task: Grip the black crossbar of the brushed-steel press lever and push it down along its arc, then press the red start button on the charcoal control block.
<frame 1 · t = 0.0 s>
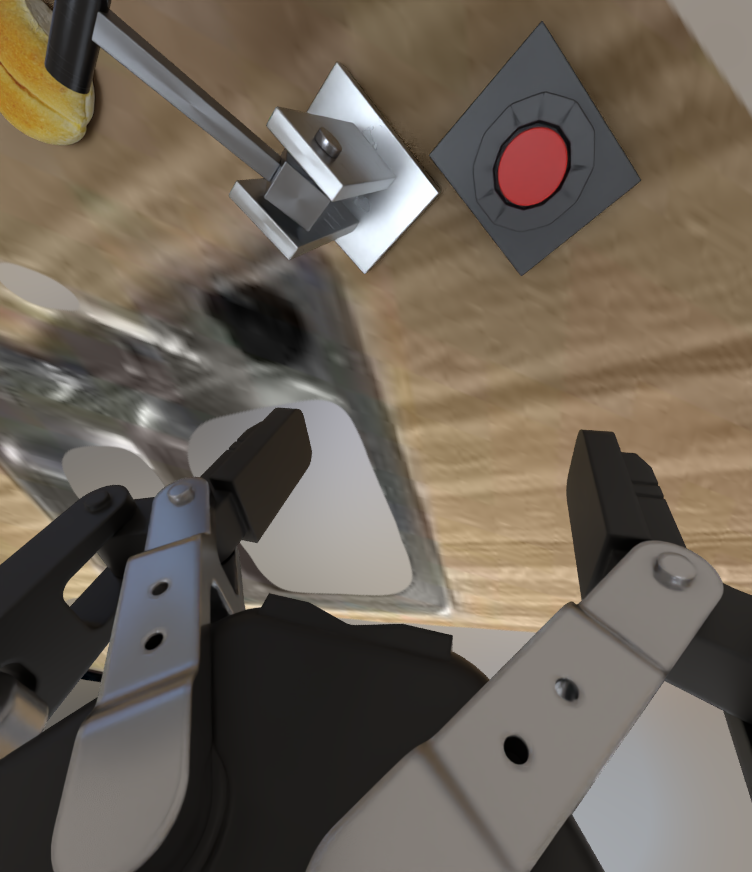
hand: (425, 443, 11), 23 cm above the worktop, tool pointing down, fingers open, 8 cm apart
start button: (531, 168, 22), point 4 cm above the worktop, slide at 0.1 cm
button block: (529, 166, 26), on the worktop
lever bracket: (357, 180, 29), on the worktop
press lever: (213, 118, 18), point 12 cm above the worktop, hinge at 28.0°
bread roll: (53, 76, 31), on the worktop
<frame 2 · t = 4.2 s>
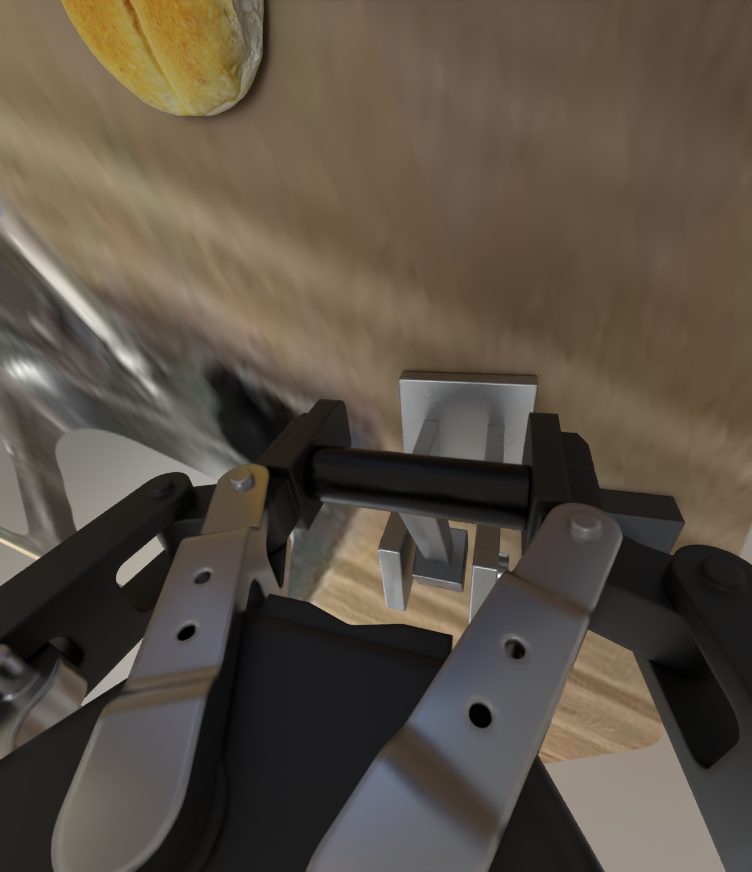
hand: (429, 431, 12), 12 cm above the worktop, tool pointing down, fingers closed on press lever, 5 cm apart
button block: (586, 540, 28), on the worktop
lever bracket: (464, 440, 26), on the worktop
press lever: (432, 534, 15), point 12 cm above the worktop, hinge at 28.0°, touching gripper
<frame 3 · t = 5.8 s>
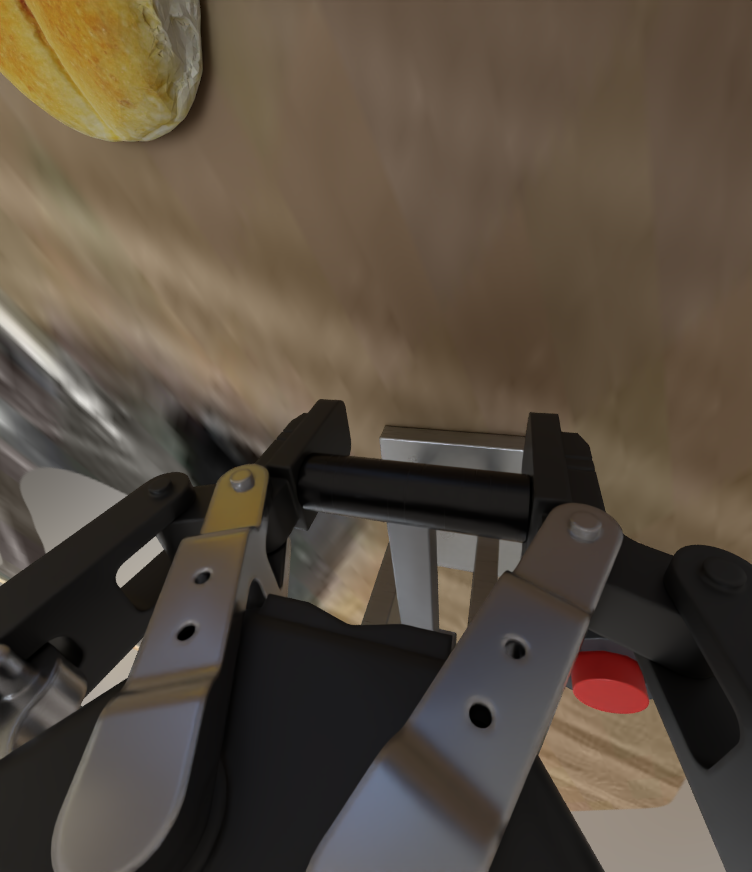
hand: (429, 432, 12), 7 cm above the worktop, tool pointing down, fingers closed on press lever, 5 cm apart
start button: (607, 680, 22), point 4 cm above the worktop, slide at 0.1 cm
button block: (594, 608, 25), on the worktop
lever bracket: (456, 500, 23), on the worktop
press lever: (419, 609, 13), point 10 cm above the worktop, hinge at 1.8°, touching gripper
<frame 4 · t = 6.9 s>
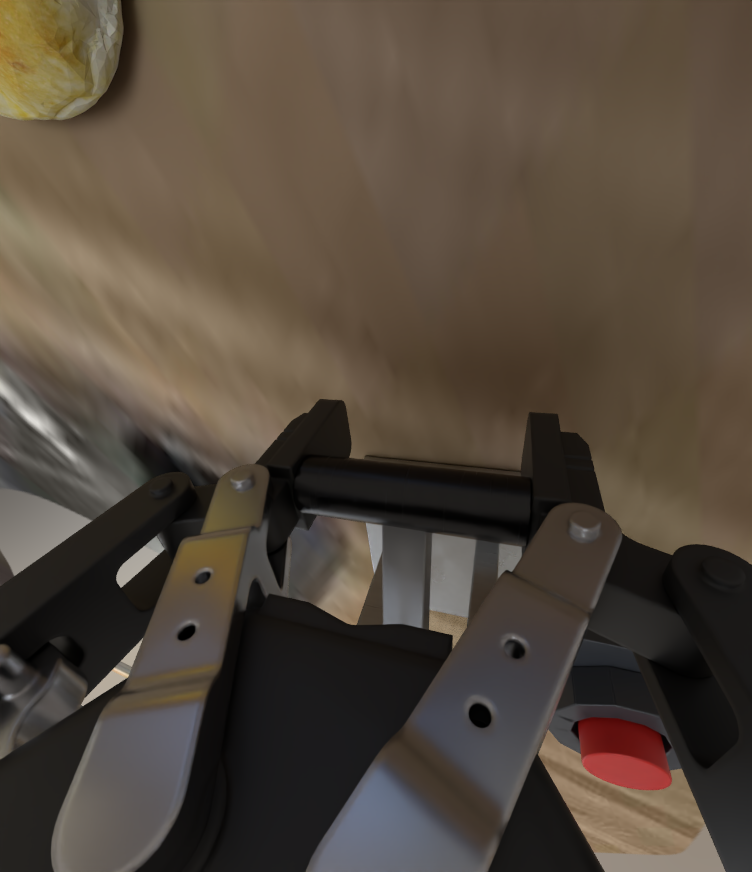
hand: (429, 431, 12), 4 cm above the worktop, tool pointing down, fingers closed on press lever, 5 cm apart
start button: (621, 750, 19), point 4 cm above the worktop, slide at 0.1 cm
button block: (605, 657, 22), on the worktop
lever bracket: (447, 538, 20), on the worktop
press lever: (405, 663, 11), point 9 cm above the worktop, hinge at -16.9°, touching gripper
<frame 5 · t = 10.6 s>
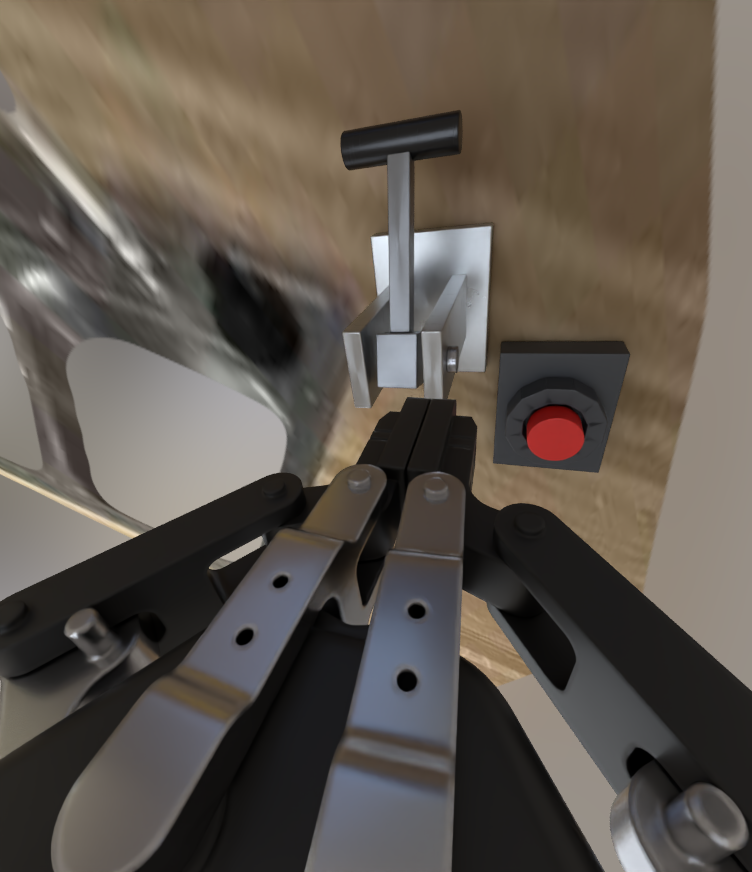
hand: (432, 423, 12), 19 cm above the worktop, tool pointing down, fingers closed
start button: (554, 433, 27), point 4 cm above the worktop, slide at 0.1 cm
button block: (550, 401, 31), on the worktop
lever bracket: (433, 303, 29), on the worktop
press lever: (401, 265, 20), point 9 cm above the worktop, hinge at -17.3°
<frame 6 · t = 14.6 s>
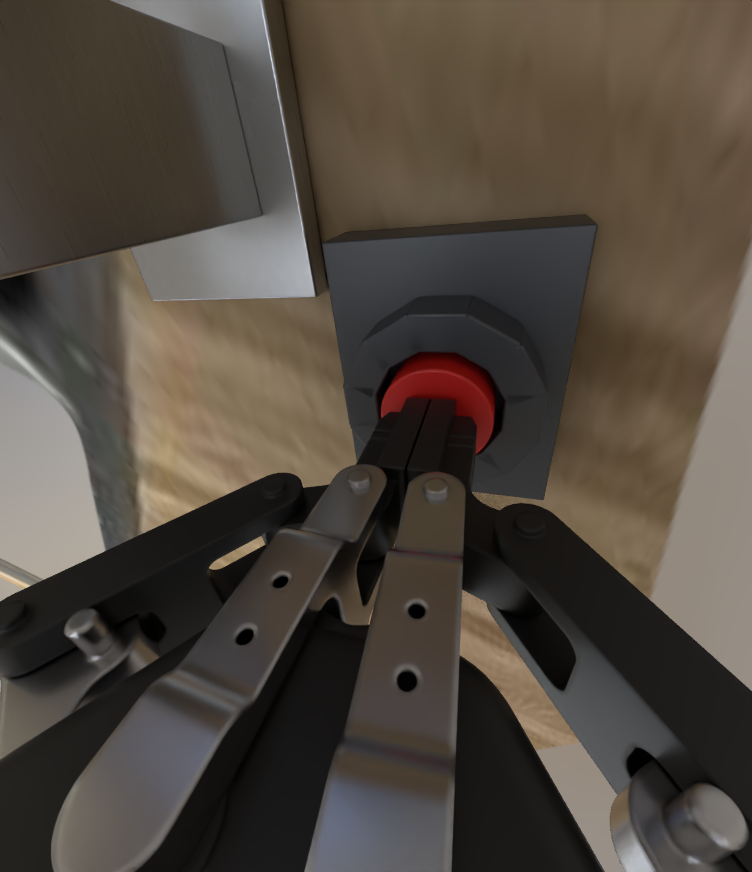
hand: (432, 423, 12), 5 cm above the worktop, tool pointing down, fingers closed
start button: (438, 407, 13), point 4 cm above the worktop, slide at -0.7 cm, touching gripper
button block: (453, 361, 16), on the worktop
lever bracket: (204, 149, 14), on the worktop
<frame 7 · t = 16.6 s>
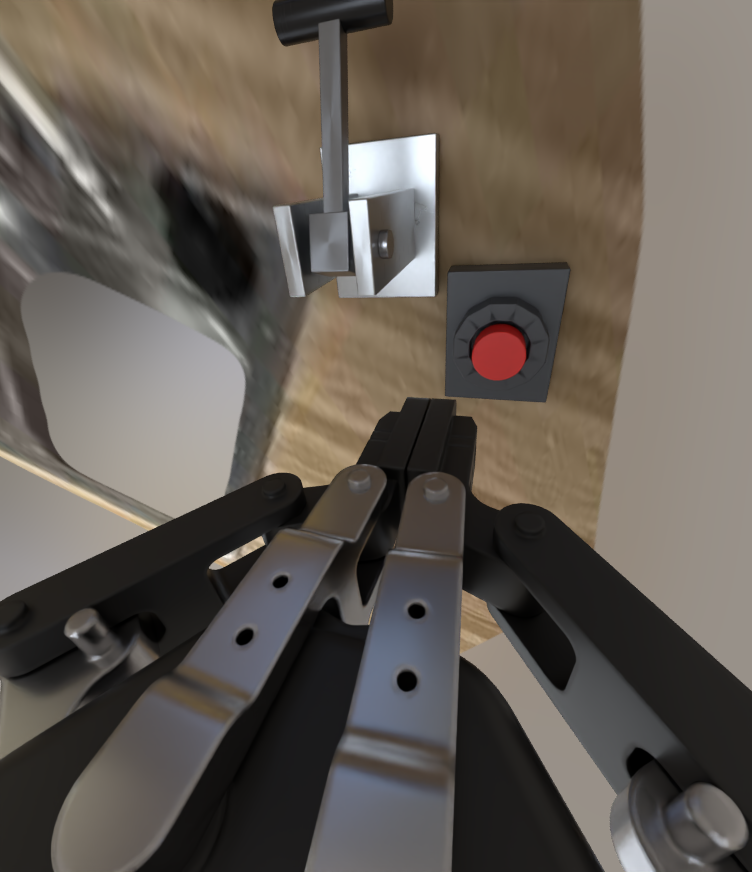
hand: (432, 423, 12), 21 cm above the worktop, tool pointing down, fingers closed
start button: (498, 352, 27), point 4 cm above the worktop, slide at 0.1 cm
button block: (500, 331, 31), on the worktop
lever bracket: (385, 224, 29), on the worktop
press lever: (335, 145, 20), point 9 cm above the worktop, hinge at -17.3°
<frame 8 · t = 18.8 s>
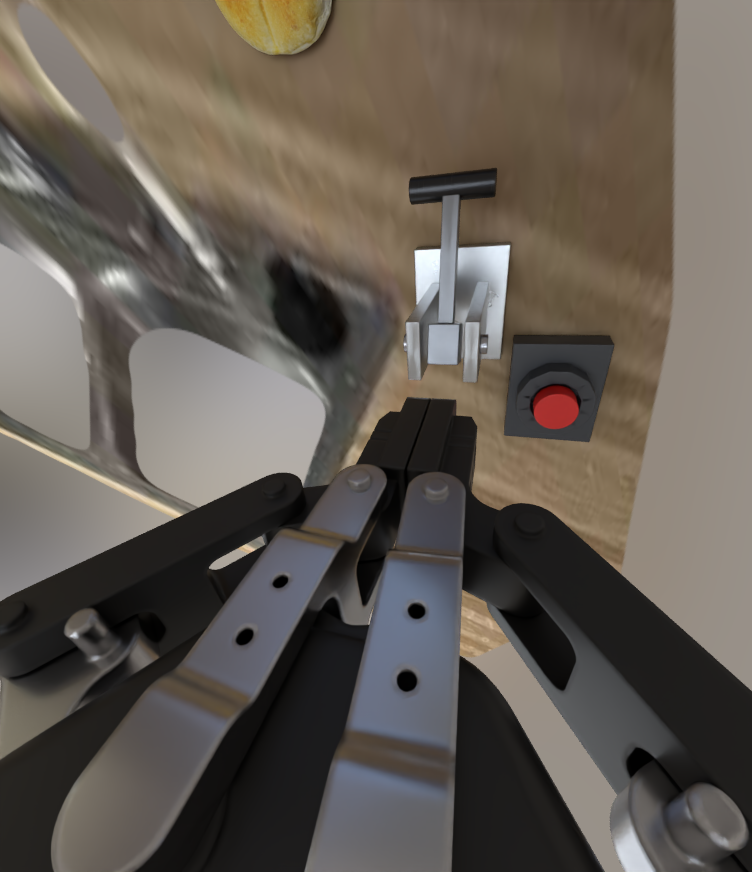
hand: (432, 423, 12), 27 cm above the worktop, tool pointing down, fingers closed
start button: (555, 407, 35), point 4 cm above the worktop, slide at 0.1 cm
button block: (551, 384, 38), on the worktop
lever bracket: (460, 303, 36), on the worktop
press lever: (448, 274, 27), point 9 cm above the worktop, hinge at -17.3°
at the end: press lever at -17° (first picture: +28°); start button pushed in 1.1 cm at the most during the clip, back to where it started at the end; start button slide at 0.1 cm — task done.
